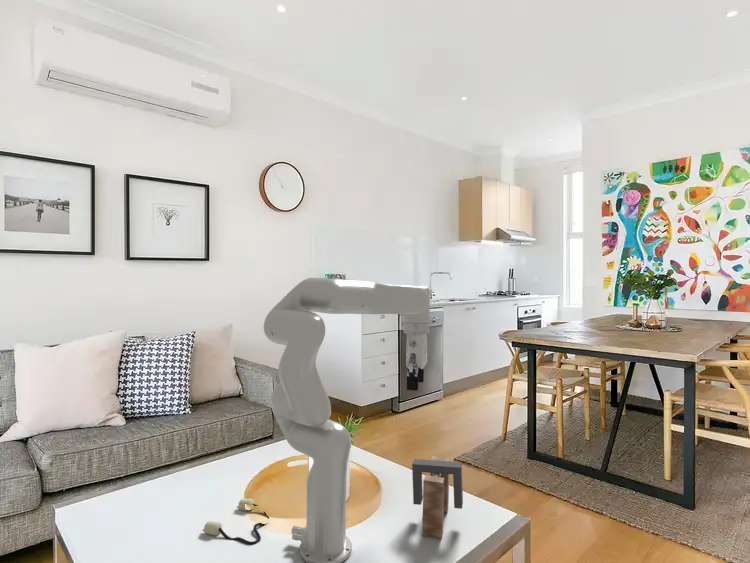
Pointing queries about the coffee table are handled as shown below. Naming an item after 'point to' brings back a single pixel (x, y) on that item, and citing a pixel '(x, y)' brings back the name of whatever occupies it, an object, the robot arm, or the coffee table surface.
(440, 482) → the hook stand
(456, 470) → the grey channel bracket
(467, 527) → the coffee table surface
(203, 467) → the coffee table surface
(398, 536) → the coffee table surface
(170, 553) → the coffee table surface
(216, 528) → the cable
